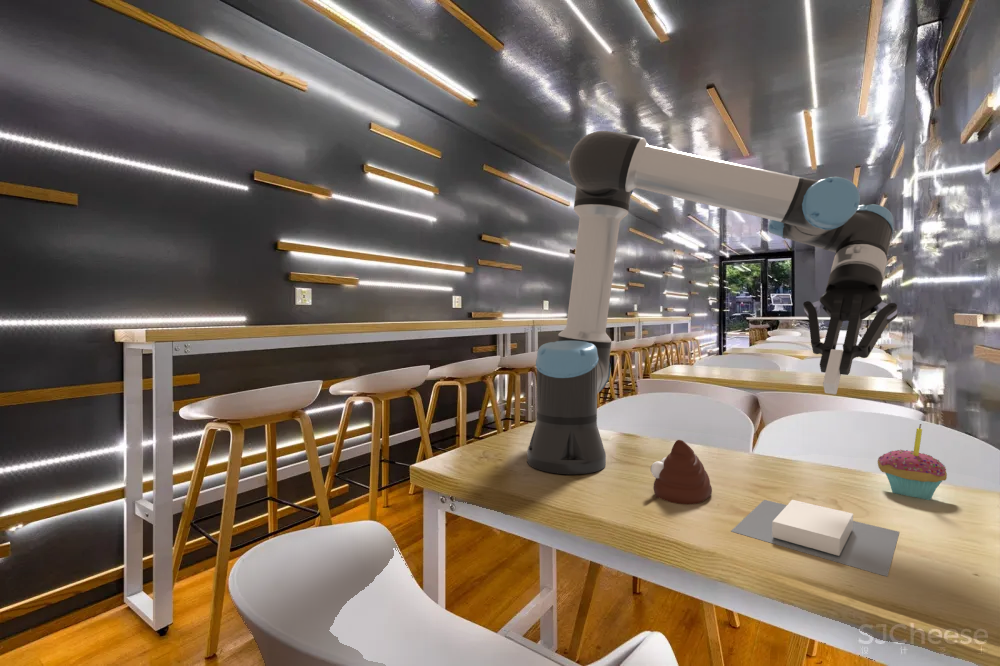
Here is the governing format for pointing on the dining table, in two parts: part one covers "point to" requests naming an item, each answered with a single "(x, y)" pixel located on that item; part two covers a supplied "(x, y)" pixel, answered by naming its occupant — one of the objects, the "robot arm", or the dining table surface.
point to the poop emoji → (681, 476)
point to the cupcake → (912, 471)
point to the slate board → (861, 551)
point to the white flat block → (813, 526)
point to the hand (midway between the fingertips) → (829, 388)
